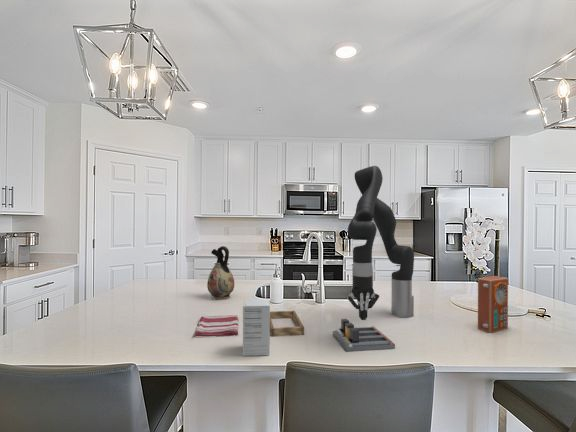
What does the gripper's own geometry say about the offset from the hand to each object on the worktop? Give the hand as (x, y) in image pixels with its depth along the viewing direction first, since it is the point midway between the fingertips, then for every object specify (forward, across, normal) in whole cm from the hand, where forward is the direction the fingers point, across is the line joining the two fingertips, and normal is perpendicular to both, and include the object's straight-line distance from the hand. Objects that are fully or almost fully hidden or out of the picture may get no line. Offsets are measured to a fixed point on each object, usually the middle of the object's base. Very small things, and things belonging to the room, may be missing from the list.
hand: (363, 319), depth 123 cm
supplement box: (+7, +41, +3) cm, 41 cm away
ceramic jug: (+8, +56, -73) cm, 92 cm away
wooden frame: (+8, +27, -21) cm, 35 cm away
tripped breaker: (+6, +6, +1) cm, 9 cm away
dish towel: (+8, +55, -24) cm, 61 cm away
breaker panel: (+8, +1, +1) cm, 8 cm away
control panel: (+9, -59, -4) cm, 60 cm away
